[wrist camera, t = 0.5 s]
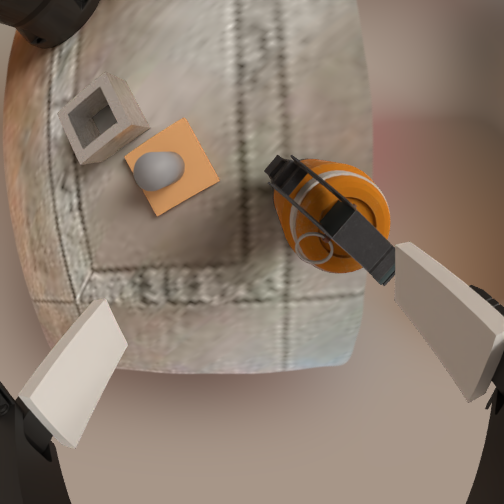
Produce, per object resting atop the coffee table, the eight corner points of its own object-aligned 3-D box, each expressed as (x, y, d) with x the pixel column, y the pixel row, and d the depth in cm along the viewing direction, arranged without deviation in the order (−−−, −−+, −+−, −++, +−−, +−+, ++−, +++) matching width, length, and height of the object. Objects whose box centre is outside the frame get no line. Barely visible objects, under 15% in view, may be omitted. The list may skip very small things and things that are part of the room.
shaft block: (128, 156, 33) (99, 159, 26) (185, 118, 31) (168, 110, 24) (160, 214, 35) (138, 230, 28) (219, 180, 34) (210, 188, 27)
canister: (311, 242, 37) (362, 334, 18) (244, 188, 34) (230, 236, 15) (355, 190, 34) (449, 237, 15) (290, 132, 32) (336, 109, 13)
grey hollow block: (82, 115, 30) (57, 113, 25) (126, 81, 29) (105, 71, 23) (104, 161, 33) (80, 164, 27) (150, 127, 32) (131, 124, 26)
